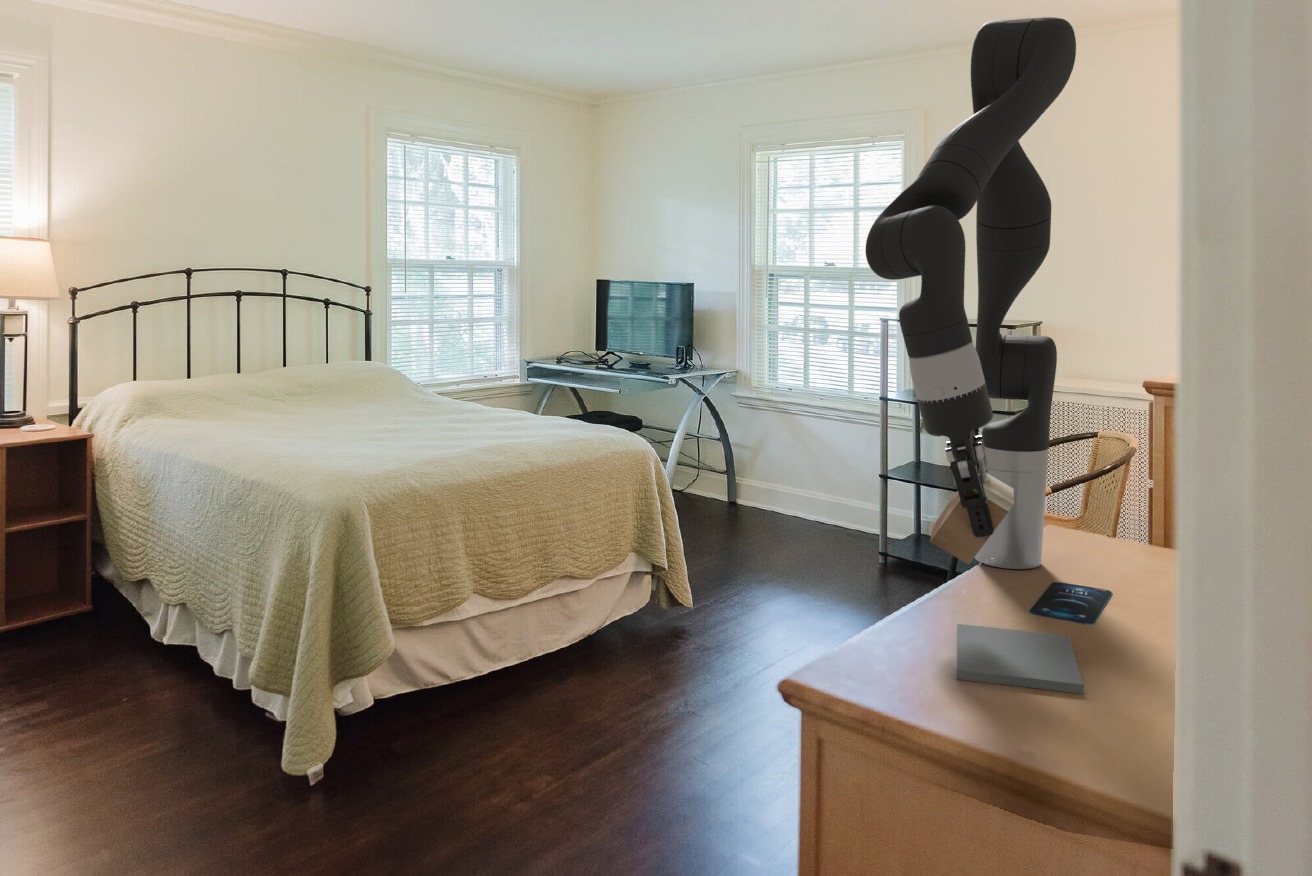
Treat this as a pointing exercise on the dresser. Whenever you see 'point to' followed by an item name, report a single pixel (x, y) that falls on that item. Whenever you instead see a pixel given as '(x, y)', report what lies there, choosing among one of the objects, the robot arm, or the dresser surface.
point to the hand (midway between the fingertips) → (984, 525)
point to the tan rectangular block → (955, 523)
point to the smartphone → (1071, 603)
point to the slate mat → (1017, 658)
